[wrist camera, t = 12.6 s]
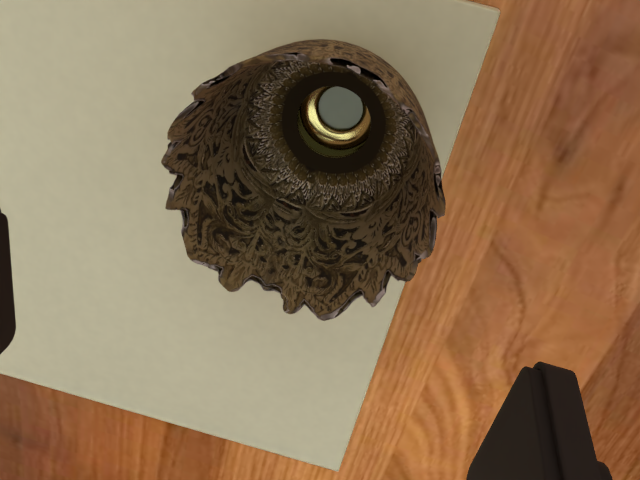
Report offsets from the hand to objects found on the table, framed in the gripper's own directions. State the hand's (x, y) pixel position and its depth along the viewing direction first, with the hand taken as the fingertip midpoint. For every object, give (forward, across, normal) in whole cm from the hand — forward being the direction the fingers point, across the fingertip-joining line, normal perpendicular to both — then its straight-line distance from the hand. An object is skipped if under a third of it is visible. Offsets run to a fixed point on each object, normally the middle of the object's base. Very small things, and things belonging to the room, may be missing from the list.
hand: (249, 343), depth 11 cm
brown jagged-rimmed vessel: (+14, +1, 0) cm, 14 cm away
